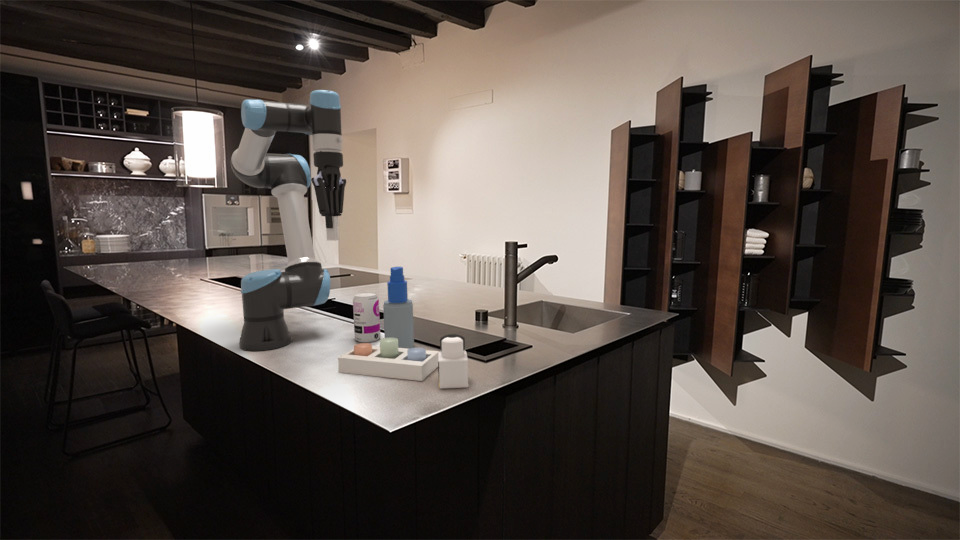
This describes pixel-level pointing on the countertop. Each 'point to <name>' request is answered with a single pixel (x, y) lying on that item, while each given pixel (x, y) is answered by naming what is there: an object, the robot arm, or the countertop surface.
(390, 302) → the spray bottle
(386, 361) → the panel
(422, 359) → the button blue
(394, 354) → the button sage
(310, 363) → the countertop surface
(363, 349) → the button terracotta
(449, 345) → the medicine bottle
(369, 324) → the supplement can
